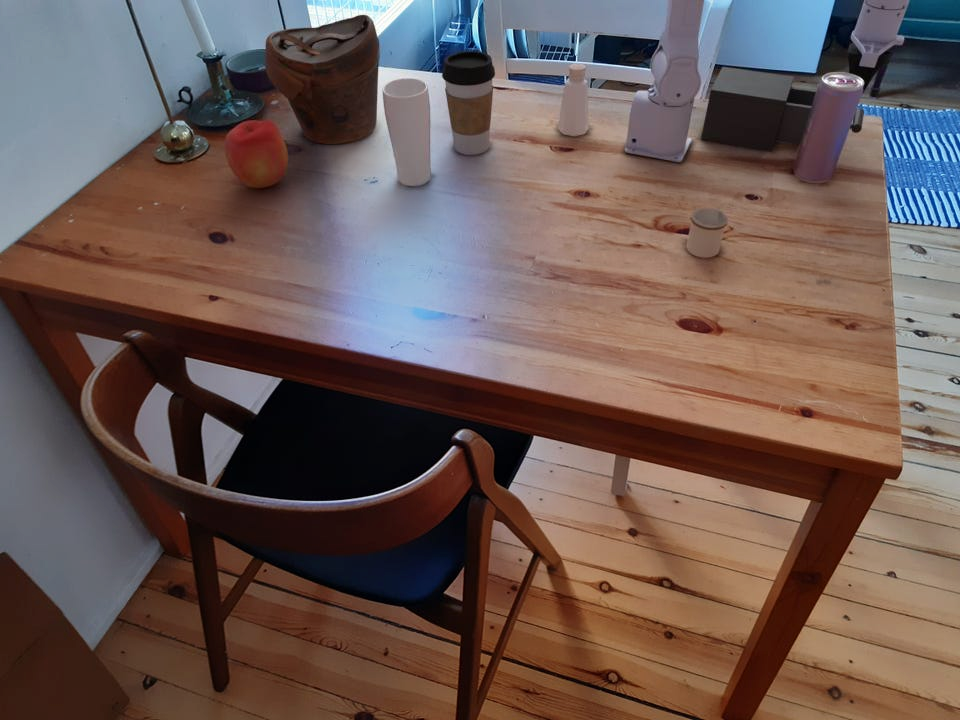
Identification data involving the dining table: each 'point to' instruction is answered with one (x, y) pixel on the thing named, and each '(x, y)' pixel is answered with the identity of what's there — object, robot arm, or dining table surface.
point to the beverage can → (827, 126)
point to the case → (328, 77)
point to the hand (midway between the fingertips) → (853, 95)
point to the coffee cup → (469, 99)
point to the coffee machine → (746, 108)
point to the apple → (256, 153)
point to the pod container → (706, 232)
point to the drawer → (804, 116)
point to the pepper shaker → (574, 103)
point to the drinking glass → (409, 128)
